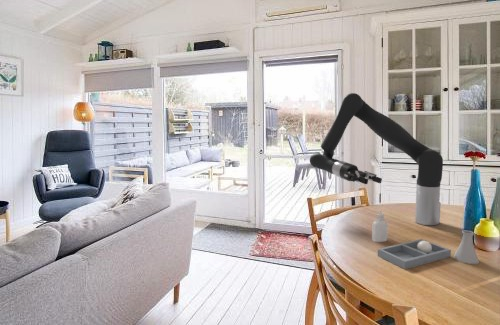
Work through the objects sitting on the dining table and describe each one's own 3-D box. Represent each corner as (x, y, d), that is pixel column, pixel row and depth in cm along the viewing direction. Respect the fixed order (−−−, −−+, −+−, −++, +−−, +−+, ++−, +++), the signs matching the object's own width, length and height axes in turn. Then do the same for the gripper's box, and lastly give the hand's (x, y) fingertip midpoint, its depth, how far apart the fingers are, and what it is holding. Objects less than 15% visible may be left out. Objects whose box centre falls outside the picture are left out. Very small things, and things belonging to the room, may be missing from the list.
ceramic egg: (423, 250, 110) (423, 238, 109) (434, 254, 106) (435, 242, 105) (414, 252, 108) (414, 240, 107) (425, 257, 104) (426, 244, 103)
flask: (484, 266, 97) (486, 236, 96) (458, 265, 99) (460, 235, 98) (472, 257, 104) (474, 228, 103) (449, 255, 106) (450, 227, 105)
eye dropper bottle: (371, 239, 123) (371, 209, 121) (386, 240, 121) (387, 210, 120) (372, 243, 119) (373, 212, 117) (388, 244, 117) (389, 213, 116)
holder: (421, 246, 114) (421, 238, 114) (450, 258, 104) (451, 249, 103) (377, 257, 106) (377, 248, 106) (404, 270, 96) (404, 261, 95)
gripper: (335, 162, 136) (364, 173, 123) (357, 162, 144) (387, 172, 130) (331, 179, 138) (360, 191, 125) (354, 177, 145) (383, 189, 132)
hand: (374, 181), depth 127 cm, fingers open, 8 cm apart
